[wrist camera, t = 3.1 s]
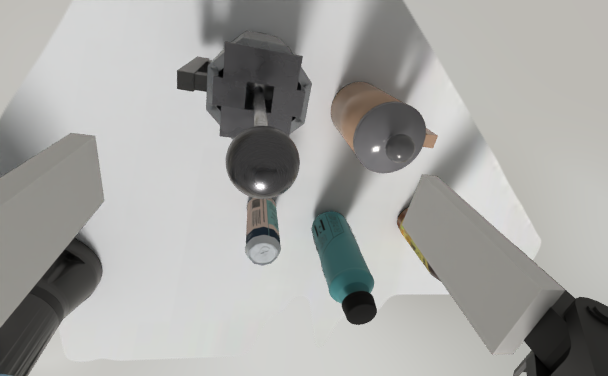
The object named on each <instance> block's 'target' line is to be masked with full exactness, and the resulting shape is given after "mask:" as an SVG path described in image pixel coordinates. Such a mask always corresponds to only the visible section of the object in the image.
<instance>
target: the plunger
mask: <svg viewBox="0 0 608 376" xmlns="http://www.w3.org/2000/svg"><path fill="white" fill-rule="evenodd" d="M273 90H274V86H269V85H263V84H257V83H251V82H247V87H246V97H245V108H250V109H254V127H250V128H248V129H246V130H244V131H242V132H241V133H239V134H238V135H237V136H236V137H235V138H234V139H233V141H232V142H231V144H230V146H229V148H228V151H227V154H226V169H227V173H228V176H229V178H230V180H231V181H232V183H233V184H234V186H235V187H236V188H237V189H238V190H239V191H241V192H242V193H244V194H246V195H247V196H250V197H253V198H257V199H269V198H273V197H276V196H279V195H281V194H282V193H284V192H285V191H286V190H288V189H289V188H290V187H291V185H292V184H293V183H294V181H295V179H296V177H297V175H298V171H299V165H300V160H299V154H298V150H297V148H296V146H295V144H294V142H293V141H292V140H291V138H290V137H289V136H288V135H286V134H285V133H284V132H282V131H281V130H279V129H277V128H274V127H271V126H268V123H267V115H266V111H271V105H272V98H273Z"/></svg>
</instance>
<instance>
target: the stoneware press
mask: <svg viewBox="0 0 608 376" xmlns="http://www.w3.org/2000/svg"><path fill="white" fill-rule="evenodd" d="M331 118H332V121H333V124H334V125H335V127H336V128H337V130H338V131H339V132H340V134H341V135H342V136H343V138H344V139H345V140H346V142H347V143H348V144H349V146H350V147H351V149H352V150H353V151H354V153H355V155H356V156H357V158H358V160H359V161H360V162H361V164H362V165H363V166H364V167H366V168H367V169H369V170H371V171H373V172H377V173H390V172H394V171H397V170H400V169H402V168H404V167H405V166H407V165H408V164H410V163H411V162H412V161H413V160H414V159H415V158H416V157H417V155H418V154H419V152H420V151H421V149H422V147H428V148H433V147H434V144H435V142H436V139H437V137H438V136H437V135H436V134H434V133H433V132H431V131H430V130H428V129H427V128H426V126H425V122H424V119H423V117H422V116H421V114H420V113H419V112H418V111H417V110H416V109H415V108H413V107H412V106H410V105H408V104H406V103H403V102H401V101H399V100H397V99H396V98H394V97H392V96H391V95H389V94H387V93H385V92H384V91H382V90H380V89H378V88H377V87H375V86H373V85H372V84H369V83H366V82H354V83H351V84H349V85H347V86H345V87H344V88H342V89H341V90H340V91H339V92H338V93H337V95H336V96H335V98H334V100H333V102H332V106H331Z"/></svg>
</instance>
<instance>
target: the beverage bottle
mask: <svg viewBox="0 0 608 376" xmlns="http://www.w3.org/2000/svg"><path fill="white" fill-rule="evenodd" d="M350 228H351V227H350V226H349V224H348V223H347V221H346V219H345V217H344V216H342V215H341V214H340V213H338V212H333V211H330V212H325V213H322V214H320V215H319V216H318V217H317V218H316V219H315V220H314V222H313V225H312V229H311V231H312V233H313V235H314V236H313V239H315V240H314V242H315V244H316V245H315V246H316V249H317V250H318V254H319V258H320V260H321V264H322V268H323V272H324V277H325V278H326V282H327V284H328V288H329V293H330V295H331V297H332V298H333V299H334V300H335V301H337V302H339V303H342V308H343V311H344V313H345V315H346V318H347V320H348V321H349V322H350V323H352V324H356V325H357V324H358V325H360V324H365V323H367V322H369V321H371V320H372V319H373V318H374V317H375V315H376V313H377V309H376V305H375V302H374V298H373V296H372V295H371V294H370V293H371V291H372V289H373V287H374V279H373V277H372V275H371V273H370V271H369V269H368V267H367V265H366V263H365V261H364V258H363V256H362V254H361V252H360V250H359V247H358V245H359V244H357V242H356V240H355V238H354V235H353V234H352V232H353V231H352V232H351V229H350Z"/></svg>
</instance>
